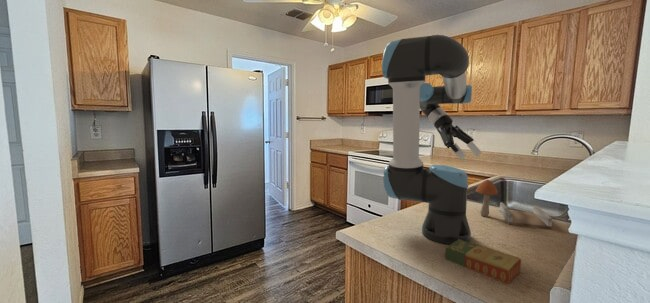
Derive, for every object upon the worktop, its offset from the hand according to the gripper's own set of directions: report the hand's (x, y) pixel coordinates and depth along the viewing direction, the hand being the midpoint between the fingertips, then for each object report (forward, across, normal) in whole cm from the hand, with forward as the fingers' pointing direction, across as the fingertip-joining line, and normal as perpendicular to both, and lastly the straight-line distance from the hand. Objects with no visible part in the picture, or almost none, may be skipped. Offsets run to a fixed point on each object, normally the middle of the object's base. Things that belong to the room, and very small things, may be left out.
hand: (471, 156), depth 119 cm
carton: (+34, +44, +1) cm, 56 cm away
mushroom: (+22, +2, -11) cm, 25 cm away
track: (+30, -5, -4) cm, 30 cm away
